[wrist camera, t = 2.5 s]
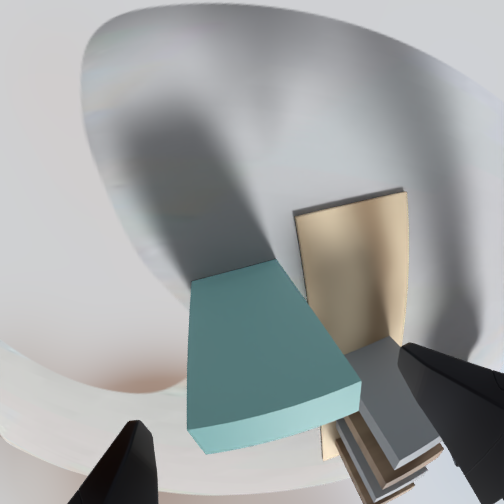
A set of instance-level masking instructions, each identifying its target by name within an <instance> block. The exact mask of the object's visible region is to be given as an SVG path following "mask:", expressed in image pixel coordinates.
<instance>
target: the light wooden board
mask: <svg viewBox="0 0 504 504" xmlns="http://www.w3.org/2000/svg"><path fill="white" fill-rule="evenodd" d="M295 222H296V228H297V234H298V240H299V246H300V252H301V259H302V265H303V272H304V278H305V285H306V292H307V299H308V305H309V306H310V307H311V309H312V310H313V312H314V313H315V314H316V316H317V317H318V319H319V320H320V322H321V323H322V324H323V326H324V327H325V329H326V330H327V332H328V333H329V334H330V336H331V337H332V339H333V340H334V342H335V343H336V344H337V346H338V347H339V349H340V350H341V352H342V353H343V354H344V355H345V354H347V353H350V352H352V351H355V350H357V349H360V348H362V347H365V346H367V345H369V344H372V343H374V342H376V341H379V340H381V339H383V338H385V337H388V336H390V337H391V338H392V339H393V340H394V341H395V342H396V343H397V344H398V345H399V346H400V347H401V346H402V339H403V331H404V323H405V313H406V302H407V289H408V268H409V223H408V202H407V192H399V193H395V194H390V195H385V196H381V197H376V198H372V199H367V200H363V201H358V202H354V203H350V204H345V205H341V206H337V207H332V208H328V209H324V210H320V211H315V212H311V213H307V214H303V215H299V216H295ZM321 437H322V454H323V461H326V460H328V459H331V458H334V457H336V456H339V455H340V454H339V452H338V450H337V448H336V446H335V441H336V439H338V438H340V435H339V433H338V431H337V429H336V420H335V421H333V422H330V423H327V424H325V425H322V426H321Z"/></svg>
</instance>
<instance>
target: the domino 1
mask: <svg viewBox="0 0 504 504" xmlns="http://www.w3.org/2000/svg"><path fill="white" fill-rule="evenodd" d="M361 382H362V381H361V379H360V378H359V376H358V375H357V373H356V372H355V370H354V369H353V367H352V366H351V365H350V363H349V362H348V360H347V359H346V357H345V356H344V354H343V353H342V352H341V350H340V349H339V347H338V346H337V344H336V343H335V342H334V340H333V339H332V337H331V336H330V334H329V333H328V332H327V330H326V329H325V327H324V326H323V324H322V323H321V322H320V320H319V319H318V317H317V316H316V314H315V313H314V312H313V310H312V309H311V307H310V306H309V305H308V303H307V302H306V300H305V299H304V297H303V296H302V295H301V293H300V292H299V290H298V289H297V288H296V286H295V285H294V283H293V282H292V281H291V279H290V278H289V276H288V275H287V274H286V272H285V271H284V269H283V268H282V267H281V265H280V264H279V262H278V261H277V260H276V259H274V260H271V261H267V262H263V263H260V264H256V265H252V266H248V267H245V268H241V269H237V270H233V271H230V272H226V273H222V274H218V275H214V276H211V277H207V278H203V279H199V280H195V281H192V284H191V299H190V315H189V336H188V362H187V431H188V432H189V433H190V435H191V436H192V437H193V439H194V440H195V441H196V443H197V444H198V445H199V446H200V448H201V449H202V450H203V451H204V453H205V454H212V453H219V452H224V451H230V450H235V449H240V448H245V447H249V446H254V445H258V444H262V443H266V442H270V441H274V440H278V439H281V438H285V437H288V436H292V435H295V434H298V433H301V432H304V431H307V430H310V429H313V428H316V427H319V426H322V425H325V424H327V423H330V422H333V421H335V420H338V419H340V418H343V417H345V416H348V415H350V414H353V413H355V412H357V411H359V403H360V393H361Z"/></svg>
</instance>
